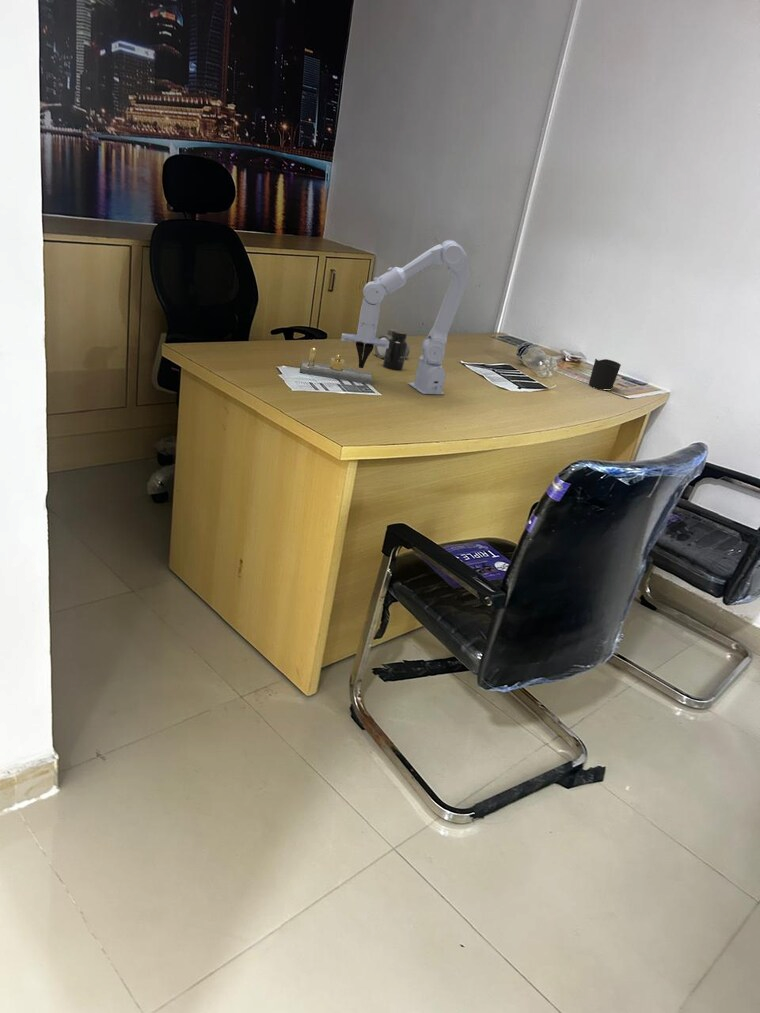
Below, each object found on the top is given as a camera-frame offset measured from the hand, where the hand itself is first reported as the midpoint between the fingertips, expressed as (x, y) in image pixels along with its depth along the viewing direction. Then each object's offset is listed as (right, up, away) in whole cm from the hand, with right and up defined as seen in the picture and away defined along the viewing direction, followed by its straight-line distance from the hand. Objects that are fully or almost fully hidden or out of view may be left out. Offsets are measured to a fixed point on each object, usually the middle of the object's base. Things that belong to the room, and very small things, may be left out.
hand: (360, 367), depth 223 cm
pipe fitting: (+10, +10, +33) cm, 36 cm away
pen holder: (+89, +2, +50) cm, 102 cm away
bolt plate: (-8, -2, +1) cm, 8 cm away
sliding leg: (-7, -1, -1) cm, 8 cm away
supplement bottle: (+10, +4, +21) cm, 24 cm away
